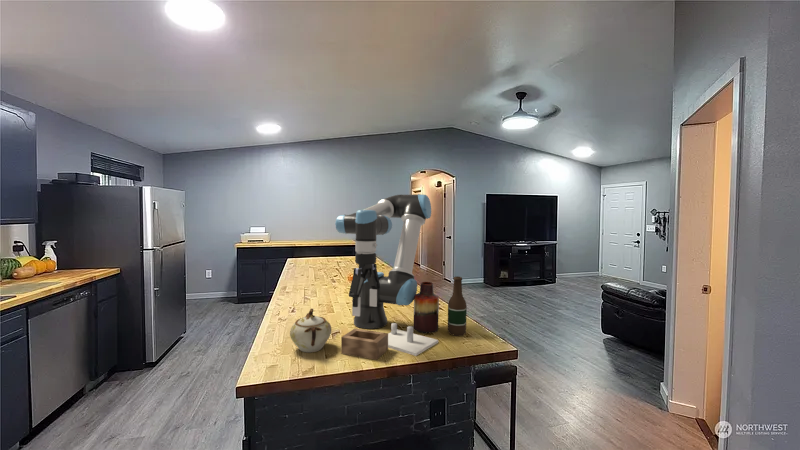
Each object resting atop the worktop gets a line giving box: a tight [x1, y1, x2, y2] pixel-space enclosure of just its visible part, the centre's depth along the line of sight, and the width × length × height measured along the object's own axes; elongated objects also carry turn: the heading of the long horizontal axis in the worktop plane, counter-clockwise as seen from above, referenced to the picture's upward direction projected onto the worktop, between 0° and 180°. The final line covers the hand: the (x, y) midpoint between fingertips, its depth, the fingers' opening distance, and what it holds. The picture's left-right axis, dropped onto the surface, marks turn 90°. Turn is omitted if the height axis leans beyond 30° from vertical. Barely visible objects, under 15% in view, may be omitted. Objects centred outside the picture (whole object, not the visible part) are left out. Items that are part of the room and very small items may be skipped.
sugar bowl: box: [289, 308, 332, 353], centre depth 128 cm, size 20×15×15 cm
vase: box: [412, 281, 440, 334], centre depth 150 cm, size 11×11×20 cm
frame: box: [340, 328, 389, 361], centre depth 126 cm, size 14×10×6 cm
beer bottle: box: [447, 275, 468, 337], centre depth 146 cm, size 8×8×24 cm
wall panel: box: [387, 322, 439, 357], centre depth 135 cm, size 20×16×6 cm
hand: (365, 310), depth 125 cm, fingers open, 13 cm apart
